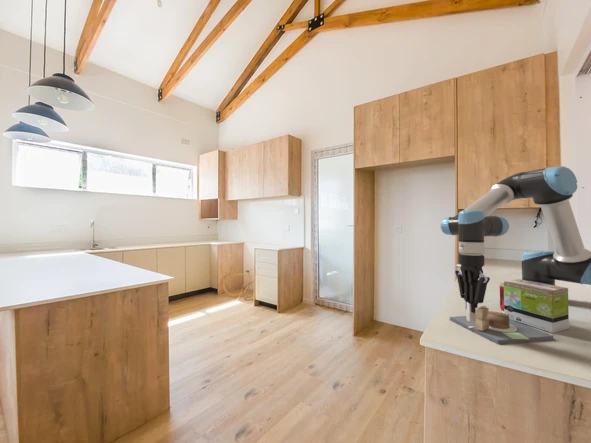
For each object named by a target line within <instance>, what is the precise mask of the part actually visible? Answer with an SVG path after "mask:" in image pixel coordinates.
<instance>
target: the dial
mask: <svg viewBox="0 0 591 443" xmlns="http://www.w3.org/2000/svg"><path fill="white" fill-rule="evenodd" d="M475 319H476V329H478V330H481V331H483V330H486V329H489V326H491V327H495V328H501V329H507V328H509V316H508V315H506V314H504V312H499V311H493V310H492V311H491V310H490V309H489V307H487V306H486V305H482V306H478V307H477V308H475Z"/></svg>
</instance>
